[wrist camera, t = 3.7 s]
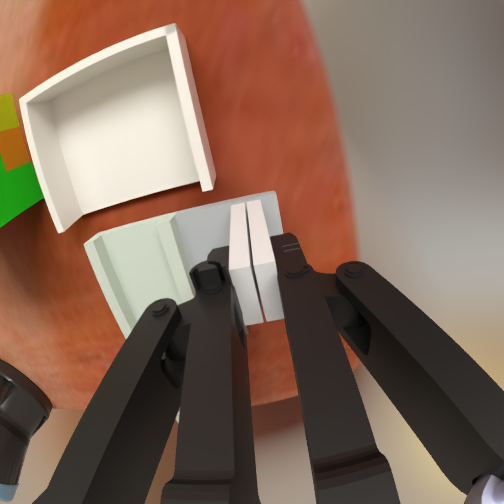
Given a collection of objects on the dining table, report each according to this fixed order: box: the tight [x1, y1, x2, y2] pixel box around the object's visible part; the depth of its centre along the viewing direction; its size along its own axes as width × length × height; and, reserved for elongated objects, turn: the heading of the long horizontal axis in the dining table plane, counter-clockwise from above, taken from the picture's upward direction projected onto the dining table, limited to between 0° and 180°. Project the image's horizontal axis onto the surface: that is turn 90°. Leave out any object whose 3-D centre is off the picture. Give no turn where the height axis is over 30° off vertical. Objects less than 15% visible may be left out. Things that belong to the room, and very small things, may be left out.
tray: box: [19, 23, 216, 233], centre depth 15 cm, size 11×10×4 cm
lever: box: [84, 191, 283, 423], centre depth 19 cm, size 20×12×3 cm, turn 11°
